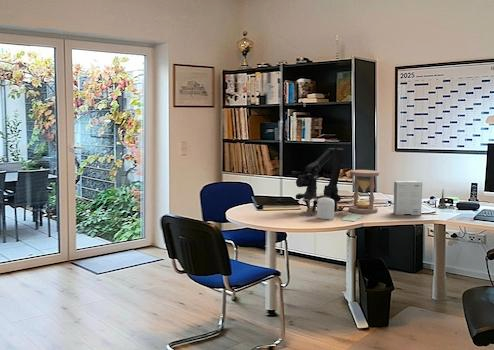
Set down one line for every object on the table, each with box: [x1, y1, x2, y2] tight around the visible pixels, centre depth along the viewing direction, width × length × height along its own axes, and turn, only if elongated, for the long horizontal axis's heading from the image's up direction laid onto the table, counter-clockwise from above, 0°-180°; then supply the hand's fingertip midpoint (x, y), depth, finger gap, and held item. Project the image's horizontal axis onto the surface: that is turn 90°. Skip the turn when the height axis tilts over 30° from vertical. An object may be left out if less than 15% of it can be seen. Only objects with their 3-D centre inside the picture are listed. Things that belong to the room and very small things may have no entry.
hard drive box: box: [393, 180, 423, 216], centre depth 321 cm, size 16×8×20 cm, turn 84°
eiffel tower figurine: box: [436, 189, 455, 210], centre depth 343 cm, size 15×10×13 cm
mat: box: [340, 213, 363, 222], centre depth 308 cm, size 18×8×1 cm, turn 155°
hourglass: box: [348, 169, 380, 215], centre depth 329 cm, size 18×18×25 cm
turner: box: [300, 206, 317, 217], centre depth 321 cm, size 15×6×3 cm, turn 154°
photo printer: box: [316, 198, 335, 221], centre depth 305 cm, size 10×4×12 cm, turn 56°
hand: (311, 211), depth 323 cm, fingers closed on turner, 2 cm apart
